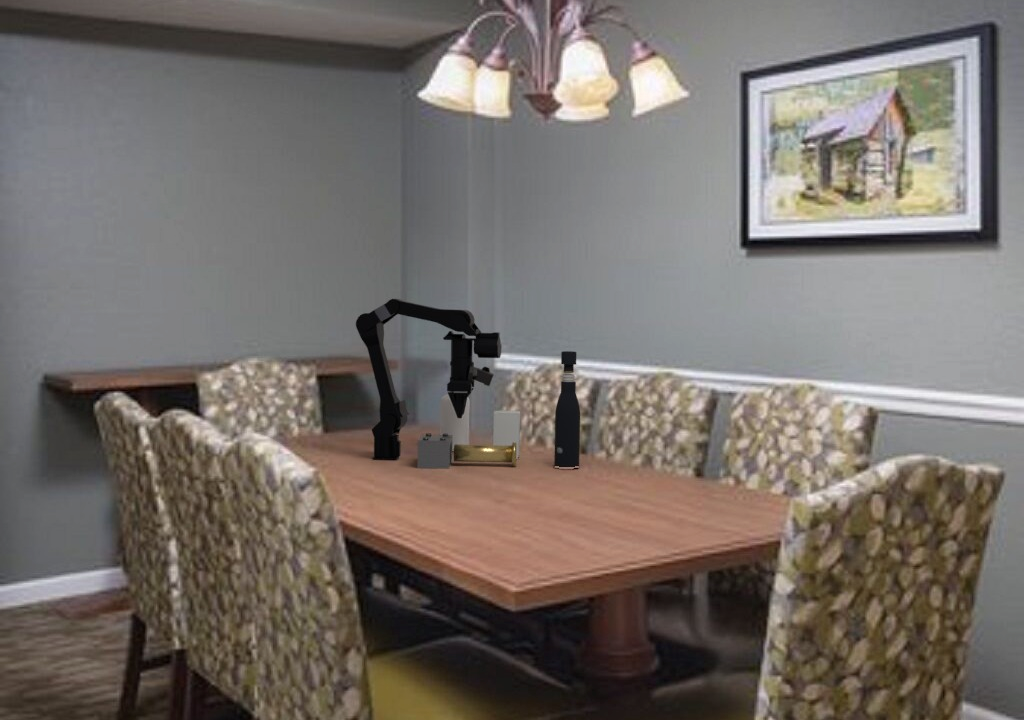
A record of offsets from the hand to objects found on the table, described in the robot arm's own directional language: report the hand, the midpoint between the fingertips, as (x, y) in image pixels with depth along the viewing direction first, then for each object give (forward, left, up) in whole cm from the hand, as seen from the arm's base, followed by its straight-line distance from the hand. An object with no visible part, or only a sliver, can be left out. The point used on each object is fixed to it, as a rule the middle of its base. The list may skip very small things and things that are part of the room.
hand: (460, 416), depth 299 cm
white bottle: (-3, +22, -12) cm, 25 cm away
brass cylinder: (+7, -7, -12) cm, 15 cm away
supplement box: (+12, +9, -12) cm, 19 cm away
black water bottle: (+28, -8, -12) cm, 32 cm away
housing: (-6, -7, -12) cm, 15 cm away
